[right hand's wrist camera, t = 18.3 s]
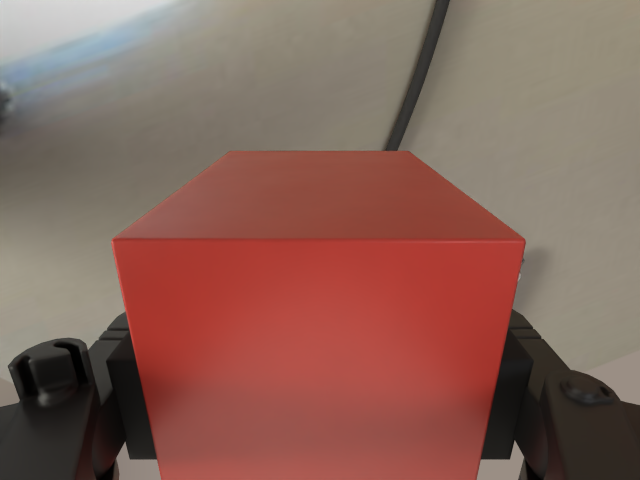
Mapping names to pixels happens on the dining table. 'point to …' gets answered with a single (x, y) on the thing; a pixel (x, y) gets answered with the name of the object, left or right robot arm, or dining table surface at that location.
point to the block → (318, 319)
